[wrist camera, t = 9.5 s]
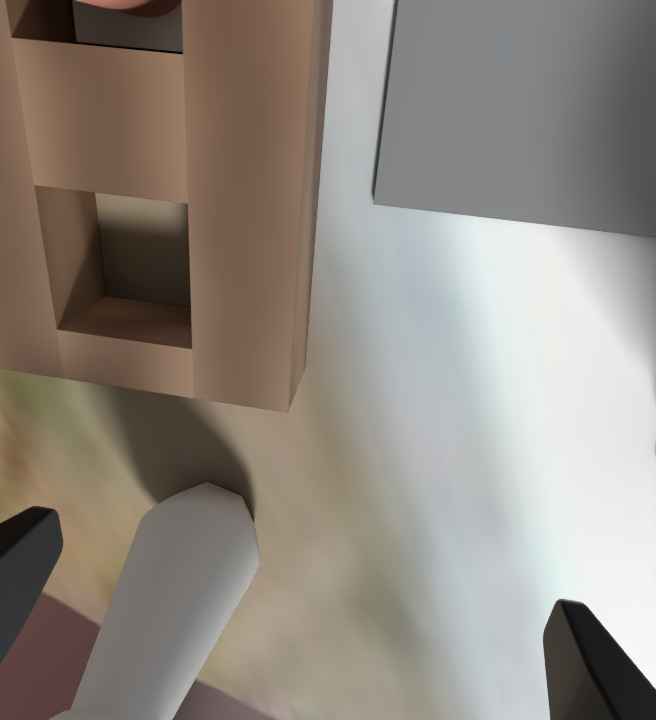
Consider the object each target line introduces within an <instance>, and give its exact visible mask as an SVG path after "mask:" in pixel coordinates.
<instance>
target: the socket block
mask: <svg viewBox="0 0 656 720" xmlns="http://www.w3.org/2000/svg"><path fill="white" fill-rule="evenodd" d="M332 11H333V0H182V1H181V2H180V3H179V4H178V5H177V6H176V7H175V8H174V9H173V10H172V11H170V12H169V13H167V14H165V15H162V16H159V17H153V18H145V17H140V16H135V15H131V14H127V13H123V12H119V11H115V10H111V9H107V8H103V7H99V6H95V5H91V4H87V3H83V2H79V1H75V0H0V369H5V370H11V371H18V372H24V373H31V374H37V375H44V376H51V377H57V378H64V379H70V380H77V381H83V382H90V383H97V384H103V385H110V386H116V387H123V388H129V389H136V390H143V391H149V392H156V393H162V394H169V395H175V396H182V397H188V398H195V399H202V400H208V401H215V402H221V403H228V404H234V405H241V406H248V407H254V408H261V409H267V410H274V411H280V412H287V413H288V411H289V408H290V406H291V403H292V401H293V398H294V395H295V393H296V390H297V388H298V385H299V382H300V380H301V377H302V375H303V372H304V369H305V362H306V349H307V336H308V323H309V310H310V297H311V284H312V271H313V258H314V245H315V232H316V219H317V206H318V193H319V180H320V167H321V154H322V141H323V128H324V115H325V102H326V89H327V76H328V63H329V50H330V37H331V24H332ZM79 42H83V43H94V44H104V45H114V46H125V47H135V48H145V49H156V50H166V51H176V52H183V55H182V54H172V53H162V52H152V51H141V50H131V49H121V48H110V47H100V46H90V45H80V44H79ZM95 192H96V193H104V194H112V195H121V196H129V197H137V198H146V199H154V200H162V201H170V202H179V203H187V204H188V225H189V257H190V290H191V308H189V307H182V306H175V305H167V304H160V303H153V302H146V301H138V300H131V299H124V298H116V297H109V296H106V293H105V284H104V275H103V265H102V256H101V247H100V237H99V228H98V219H97V209H96V200H95Z"/></svg>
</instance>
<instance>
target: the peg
mask: <svg viewBox="0 0 656 720" xmlns="http://www.w3.org/2000/svg"><path fill="white" fill-rule="evenodd" d="M75 1H79V2H83V3H87V4H91V5H95V6H99V7H103V8H107V9H111V10H115V11H119V12H123V13H127V14H131V15H135V16H140V17H145V18H153V17H159V16H162V15H165V14H167V13H169V12H170V11H172V10H173V9H174V8H175V7H176V6H177V5H178V4H179V3H180V2H181V1H182V0H75Z"/></svg>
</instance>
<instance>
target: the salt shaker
mask: <svg viewBox="0 0 656 720" xmlns="http://www.w3.org/2000/svg"><path fill="white" fill-rule="evenodd" d="M259 562H260V553H259V547H258V542H257V536H256V530H255V524H254V522H253V520H252V517H251V515H250V513H249V511H248V508H247V506H246V504H245V502H244V499H243V497H242V496H241V495H238V494H236V493H233V492H231V491H228V490H226V489H224V488H221V487H219V486H216V485H214V484H211V483H209V482H205V483H203V484H200V485H197V486H195V487H192V488H190V489H187V490H185V491H182V492H180V493H177V494H176V495H174V496H172V497H169V498H167V499H165V500H164V501H162V502H161V503H159V504H158V505H156V506H155V507H154V508H152V509H151V510H149V511H148V512H147V513H146V514H145V515H144V516H143V517H142V518H141V521H140V523H139V526H138V529H137V531H136V534H135V537H134V539H133V542H132V545H131V548H130V550H129V553H128V556H127V558H126V561H125V564H124V567H123V569H122V572H121V575H120V577H119V580H118V583H117V585H116V588H115V591H114V594H113V596H112V599H111V602H110V604H109V607H108V610H107V613H106V615H105V618H104V621H103V623H102V626H101V629H100V631H99V634H98V637H97V640H96V642H95V645H94V648H93V650H92V653H91V656H90V659H89V661H88V664H87V667H86V669H85V672H84V675H83V678H82V681H81V683H80V686H79V688H78V691H77V694H76V696H75V699H74V702H73V705H72V707H71V710H70V711H64V712H62V713H60V714H58V715H56V716H54V717H52V718H51V719H49V720H172V719H173V717H174V715H175V713H176V712H177V710H178V708H179V706H180V705H181V703H182V701H183V699H184V698H185V696H186V694H187V692H188V691H189V689H190V687H191V685H192V683H193V681H194V680H195V678H196V676H197V675H198V673H199V671H200V669H201V668H202V666H203V664H204V662H205V661H206V659H207V657H208V655H209V654H210V652H211V650H212V648H213V646H214V645H215V643H216V641H217V639H218V638H219V636H220V634H221V632H222V631H223V629H224V627H225V625H226V624H227V622H228V620H229V618H230V616H231V615H232V613H233V611H234V610H235V608H236V606H237V605H238V603H239V601H240V600H241V598H242V596H243V595H244V593H245V591H246V589H247V588H248V586H249V584H250V583H251V581H252V579H253V577H254V575H255V573H256V571H257V569H258V567H259Z"/></svg>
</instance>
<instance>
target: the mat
mask: <svg viewBox="0 0 656 720" xmlns="http://www.w3.org/2000/svg"><path fill="white" fill-rule="evenodd" d="M373 204H376V205H384V206H393V207H401V208H410V209H418V210H427V211H435V212H444V213H452V214H461V215H469V216H478V217H486V218H495V219H503V220H512V221H520V222H529V223H537V224H546V225H554V226H563V227H571V228H580V229H588V230H597V231H605V232H614V233H622V234H631V235H639V236H648V237H656V0H398V8H397V16H396V24H395V33H394V41H393V49H392V57H391V65H390V73H389V81H388V89H387V98H386V106H385V114H384V122H383V130H382V138H381V146H380V154H379V163H378V171H377V179H376V187H375V195H374V203H373Z"/></svg>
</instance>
